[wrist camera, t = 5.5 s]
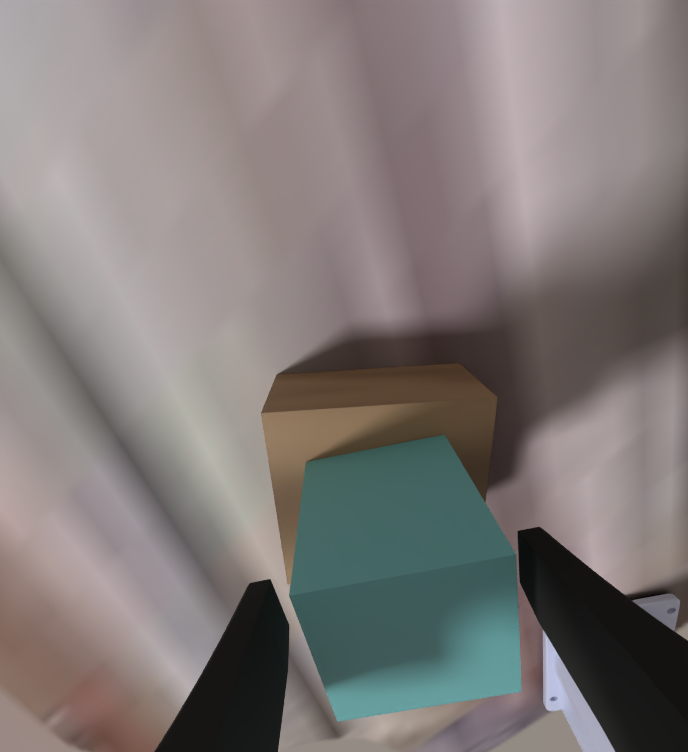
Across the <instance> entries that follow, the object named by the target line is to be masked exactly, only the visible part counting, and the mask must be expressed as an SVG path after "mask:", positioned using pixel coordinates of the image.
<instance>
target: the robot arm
mask: <svg viewBox="0 0 688 752" xmlns="http://www.w3.org/2000/svg"><path fill="white" fill-rule="evenodd" d="M518 550H519V575H520V583H521V586H522V588H523V590H524V592H525V594H526V596H527V598H528V601H529V603H530V605H531V607H532V609H533V611H534V613H535V615H536V617H537V619H538V621H539V623H540V625H541V627H542V628H543V702H544V705H545V707H546V709H547V710H549V711H556V710H562V711H563V713H564V715H565V716H566V719H567V720H568V723H569V725H570V727H571V729H572V731H573V732H574V735H575V737H576V739H577V741H578V743H579V744H580V747H581V748H582V750H583V752H688V641H687V640H686V639H684V638H683V637H682V636H680V635H679V634H677V633H676V632H675V627H676V622H677V617H678V612H679V607H680V600H679V599H678V598H677V597H676V596H675V595H674V594H663V595H657V596H652V597H646V598H641V599H636V600H631V599H629V598H628V597H627V596H625V595H624V594H623V593H621V592H620V591H619V590H618V589H616V588H615V587H614V586H612V585H611V584H610V583H608V582H607V581H606V580H604V579H603V578H602V577H601V576H599V575H598V574H597V573H596V572H594V571H593V570H592V569H591V568H589V567H588V566H587V565H586V564H584V563H583V562H582V561H581V560H580V559H578V558H577V557H576V556H575V555H573V554H572V553H571V552H570V551H569V550H567V549H566V548H565V547H564V546H563V545H561V544H560V543H559V542H558V541H557V540H555V539H554V538H553V537H552V536H551V535H549V534H548V533H547V532H546V531H545V530H543V529H542V528H540V527H536V528H531V529H525V530H520V531H518ZM288 655H289V624H288V621H287V619H286V616H285V614H284V611H283V609H282V606H281V604H280V602H279V599H278V597H277V594H276V592H275V589H274V587H273V584H272V582H271V580H270V579H268V580H263V581H258V582H253V583H250V584H249V585H248V587H247V589H246V591H245V593H244V595H243V597H242V599H241V601H240V603H239V604H238V606H237V608H236V610H235V612H234V614H233V616H232V618H231V620H230V622H229V624H228V626H227V628H226V630H225V632H224V634H223V635H222V637H221V639H220V641H219V643H218V645H217V647H216V648H215V650H214V652H213V654H212V656H211V658H210V659H209V661H208V663H207V665H206V667H205V669H204V670H203V672H202V674H201V676H200V677H199V679H198V681H197V683H196V684H195V686H194V688H193V689H192V691H191V693H190V695H189V696H188V698H187V700H186V701H185V703H184V705H183V706H182V708H181V710H180V711H179V713H178V715H177V716H176V718H175V720H174V721H173V723H172V725H171V726H170V728H169V729H168V731H167V733H166V734H165V736H164V737H163V739H162V741H161V742H160V744H159V745H158V747H157V748H156V750H155V752H278V746H279V738H280V730H281V722H282V714H283V706H284V698H285V690H286V682H287V673H288Z"/></svg>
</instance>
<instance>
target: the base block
mask: <svg viewBox="0 0 688 752" xmlns="http://www.w3.org/2000/svg"><path fill="white" fill-rule="evenodd" d="M497 400H498V397H497V396H495V395H494V394H493V393H492V392H491V391H490V390H489V389H488V388H487V387H485V386H484V385H483V384H482V383H481V382H480V381H479V380H478V379H477V378H475V377H474V376H473V375H472V374H471V373H470V372H469V371H468V370H467V369H466V368H464V367H463V366H462V365H461V364H460V363H451V364H435V365H420V366H404V367H388V368H372V369H357V370H341V371H325V372H309V373H293V374H278V375H276V378H275V380H274V383H273V385H272V387H271V390H270V392H269V395H268V397H267V400H266V402H265V405H264V407H263V410H262V412H261V416H262V422H263V428H264V435H265V441H266V448H267V454H268V461H269V467H270V473H271V480H272V486H273V493H274V499H275V506H276V512H277V518H278V525H279V531H280V538H281V544H282V551H283V557H284V564H285V570H286V576H287V583H288V584H291V577H292V569H293V561H294V553H295V545H296V536H297V528H298V520H299V512H300V504H301V496H302V488H303V480H304V471H305V463H306V462H308V461H313V460H318V459H323V458H328V457H333V456H338V455H343V454H348V453H353V452H358V451H363V450H368V449H374V448H379V447H384V446H389V445H394V444H399V443H404V442H409V441H414V440H419V439H424V438H429V437H434V436H439V435H444V434H445V436H446V438H447V439H448V441H449V443H450V444H451V446H452V448H453V449H454V451H455V453H456V454H457V456H458V458H459V459H460V461H461V463H462V464H463V466H464V468H465V470H466V471H467V473H468V475H469V476H470V478H471V480H472V481H473V483H474V485H475V486H476V488H477V490H478V491H479V493H480V495H481V496H482V498H483V500H484V502H486V493H487V485H488V476H489V468H490V459H491V451H492V442H493V434H494V425H495V417H496V408H497Z"/></svg>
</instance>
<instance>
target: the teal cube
mask: <svg viewBox="0 0 688 752" xmlns="http://www.w3.org/2000/svg"><path fill="white" fill-rule="evenodd" d="M289 596H290V599H291V602H292V604H293V607H294V609H295V612H296V615H297V617H298V620H299V622H300V625H301V628H302V630H303V633H304V635H305V638H306V641H307V643H308V646H309V648H310V651H311V654H312V656H313V659H314V662H315V664H316V667H317V669H318V672H319V675H320V677H321V680H322V682H323V685H324V688H325V690H326V693H327V695H328V698H329V701H330V703H331V706H332V708H333V711H334V714H335V716H336V719H337V721H344V720H351V719H357V718H363V717H369V716H375V715H381V714H387V713H393V712H400V711H406V710H412V709H418V708H424V707H430V706H436V705H442V704H449V703H455V702H461V701H467V700H473V699H479V698H485V697H491V696H498V695H504V694H510V693H516V692H522V691H521V666H520V641H519V616H518V591H517V566H516V554H515V552H514V550H513V549H512V547H511V545H510V544H509V542H508V540H507V539H506V537H505V535H504V533H503V532H502V530H501V528H500V527H499V525H498V523H497V522H496V520H495V518H494V517H493V515H492V513H491V512H490V510H489V508H488V507H487V505H486V503H485V502H484V500H483V498H482V496H481V495H480V493H479V491H478V490H477V488H476V486H475V485H474V483H473V481H472V480H471V478H470V476H469V475H468V473H467V471H466V470H465V468H464V466H463V464H462V463H461V461H460V459H459V458H458V456H457V454H456V453H455V451H454V449H453V448H452V446H451V444H450V443H449V441H448V439H447V438H446V436H445V434H444V435H439V436H434V437H429V438H424V439H419V440H414V441H409V442H404V443H399V444H394V445H389V446H384V447H379V448H374V449H368V450H363V451H358V452H353V453H348V454H343V455H338V456H333V457H328V458H323V459H318V460H313V461H308V462H306V463H305V471H304V480H303V488H302V496H301V504H300V512H299V520H298V528H297V536H296V545H295V553H294V561H293V569H292V577H291V585H290V593H289Z"/></svg>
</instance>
